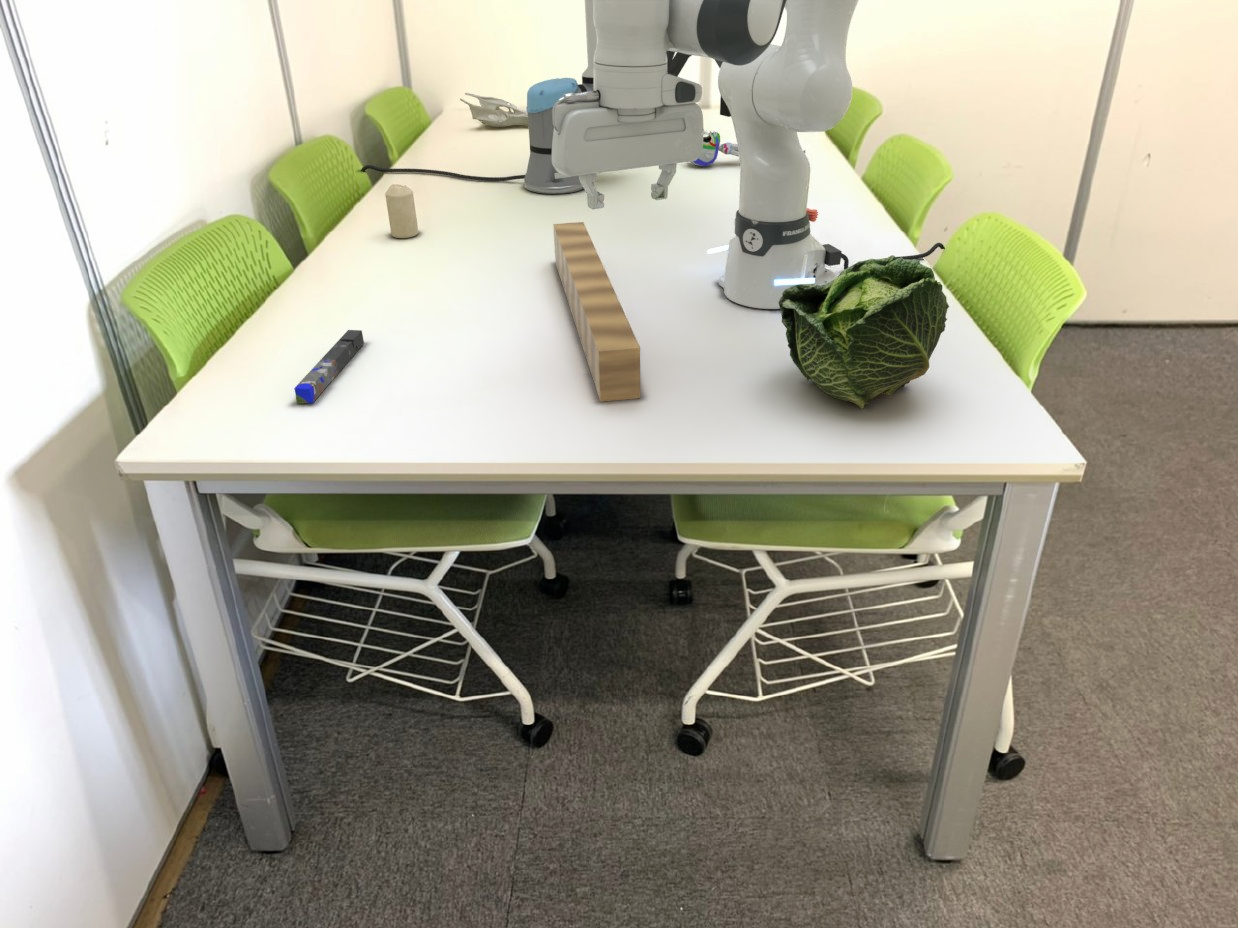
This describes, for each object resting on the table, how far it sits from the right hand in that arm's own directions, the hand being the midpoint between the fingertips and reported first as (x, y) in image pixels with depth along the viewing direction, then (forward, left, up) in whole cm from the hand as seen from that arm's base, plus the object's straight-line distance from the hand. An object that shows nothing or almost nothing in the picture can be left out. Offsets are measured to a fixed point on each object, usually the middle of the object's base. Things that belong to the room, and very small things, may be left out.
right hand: (627, 203), depth 115 cm
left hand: (-59, -29, -3) cm, 66 cm away
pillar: (+25, -36, -25) cm, 50 cm away
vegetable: (-16, +28, -25) cm, 41 cm away
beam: (-13, -18, -25) cm, 33 cm away
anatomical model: (-111, -134, -25) cm, 176 cm away
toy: (-114, -51, -25) cm, 127 cm away
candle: (-24, -77, -25) cm, 85 cm away
